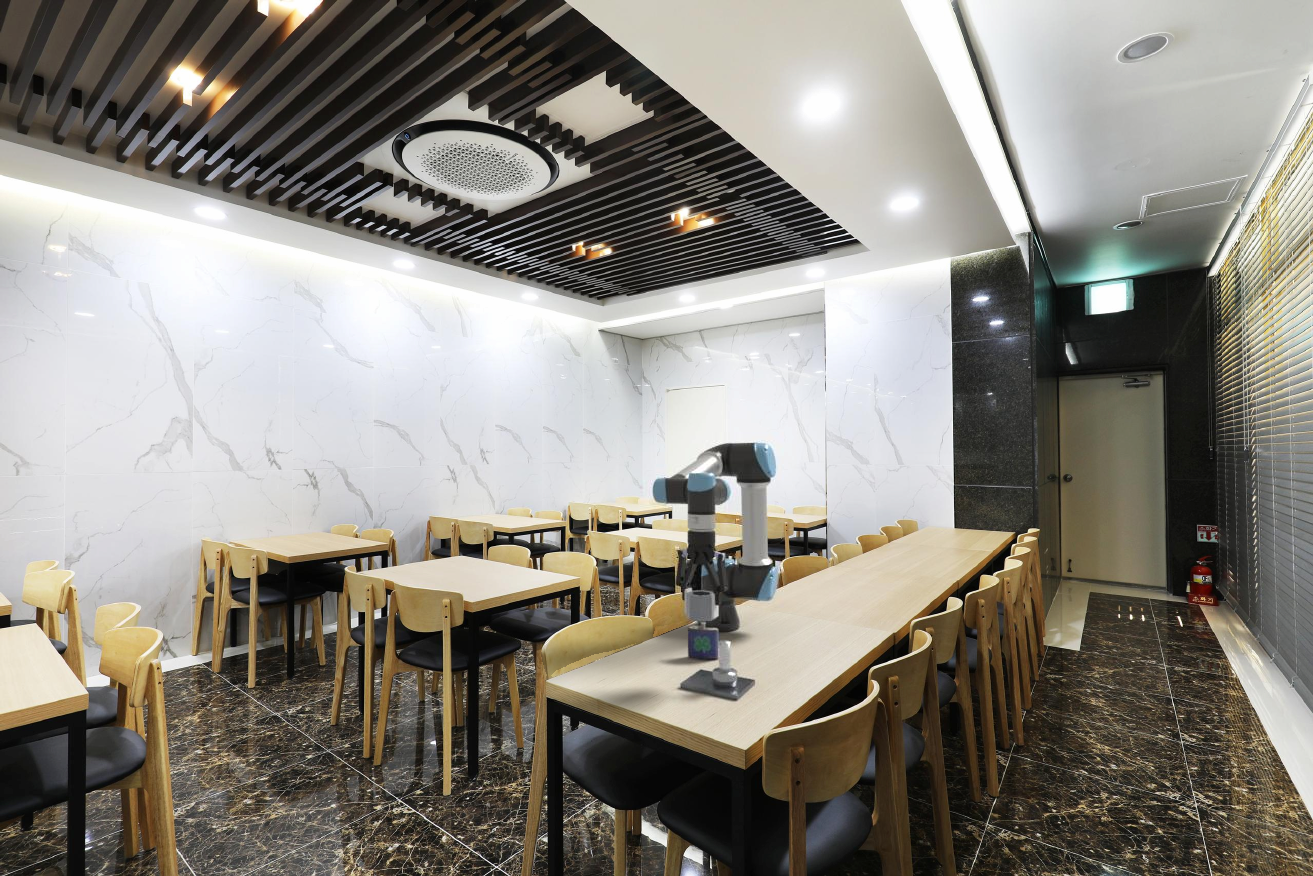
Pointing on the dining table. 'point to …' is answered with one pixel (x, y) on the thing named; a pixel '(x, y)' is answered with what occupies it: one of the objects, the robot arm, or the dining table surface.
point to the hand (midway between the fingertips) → (701, 614)
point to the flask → (703, 642)
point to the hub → (698, 605)
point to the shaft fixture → (720, 678)
